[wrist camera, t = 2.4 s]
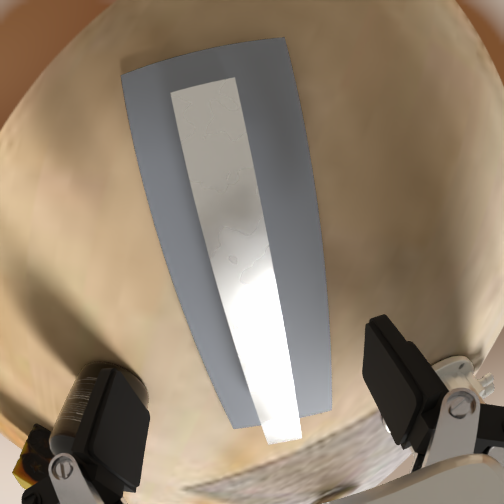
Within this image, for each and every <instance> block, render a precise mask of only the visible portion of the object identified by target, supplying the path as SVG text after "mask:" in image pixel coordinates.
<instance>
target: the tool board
mask: <svg viewBox="0 0 504 504" xmlns="http://www.w3.org/2000/svg"><path fill="white" fill-rule="evenodd" d="M234 77H235V80H236V85H237V89H238V94H239V99H240V103H241V108H242V113H243V117H244V122H245V127H246V132H247V136H248V141H249V146H250V151H251V156H252V161H253V166H254V171H255V176H256V181H257V186H258V191H259V196H260V201H261V206H262V211H263V216H264V221H265V227H266V232H267V237H268V242H269V248H270V253H271V258H272V264H273V269H274V275H275V280H276V285H277V291H278V297H279V302H280V308H281V313H282V319H283V325H284V331H285V336H286V342H287V348H288V354H289V360H290V366H291V372H292V378H293V384H294V390H295V396H296V402H297V409H298V415H299V418H302V417H306V416H310V415H315V414H319V413H323V412H327V411H330V410H332V370H331V344H330V325H329V309H328V296H327V284H326V273H325V262H324V253H323V244H322V235H321V227H320V219H319V211H318V204H317V197H316V190H315V183H314V176H313V170H312V164H311V158H310V152H309V147H308V141H307V135H306V130H305V125H304V120H303V115H302V110H301V105H300V100H299V95H298V91H297V86H296V82H295V78H294V73H293V69H292V65H291V61H290V57H289V53H288V49H287V45H286V41H285V37H282V38H272V39H263V40H255V41H248V42H242V43H236V44H230V45H224V46H219V47H214V48H210V49H205V50H201V51H197V52H192V53H189V54H185V55H181V56H177V57H174V58H170V59H167V60H164V61H160V62H157V63H154V64H151V65H148V66H145V67H142V68H139V69H136V70H134V71H131V72H128V73H126V74H123V75H121V80H122V86H123V92H124V98H125V104H126V109H127V114H128V119H129V124H130V129H131V134H132V139H133V143H134V148H135V152H136V156H137V161H138V165H139V169H140V173H141V177H142V181H143V185H144V189H145V192H146V196H147V200H148V204H149V207H150V211H151V214H152V218H153V221H154V225H155V228H156V231H157V235H158V238H159V241H160V245H161V248H162V251H163V254H164V257H165V260H166V263H167V266H168V269H169V272H170V275H171V278H172V281H173V284H174V287H175V290H176V293H177V296H178V298H179V301H180V304H181V307H182V309H183V312H184V315H185V317H186V320H187V323H188V325H189V328H190V330H191V333H192V336H193V338H194V341H195V343H196V346H197V348H198V351H199V353H200V355H201V358H202V360H203V363H204V365H205V367H206V370H207V372H208V374H209V377H210V379H211V381H212V384H213V386H214V388H215V390H216V393H217V395H218V397H219V399H220V401H221V404H222V406H223V408H224V410H225V412H226V414H227V416H228V418H229V420H230V422H231V425H232V427H233V429H238V428H246V427H253V426H259V425H261V423H260V420H259V417H258V414H257V411H256V408H255V405H254V402H253V399H252V396H251V393H250V390H249V387H248V384H247V381H246V378H245V375H244V372H243V369H242V366H241V363H240V360H239V357H238V353H237V350H236V347H235V344H234V341H233V337H232V334H231V331H230V327H229V324H228V321H227V317H226V314H225V311H224V307H223V304H222V301H221V297H220V294H219V290H218V287H217V283H216V280H215V276H214V272H213V269H212V265H211V262H210V258H209V254H208V251H207V247H206V243H205V239H204V236H203V232H202V228H201V224H200V220H199V216H198V212H197V208H196V204H195V200H194V196H193V192H192V188H191V184H190V180H189V176H188V171H187V167H186V163H185V158H184V154H183V150H182V145H181V141H180V136H179V132H178V127H177V122H176V118H175V113H174V108H173V103H172V98H171V92H175V91H178V90H182V89H186V88H189V87H193V86H197V85H202V84H206V83H210V82H215V81H219V80H224V79H229V78H234Z"/></svg>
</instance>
